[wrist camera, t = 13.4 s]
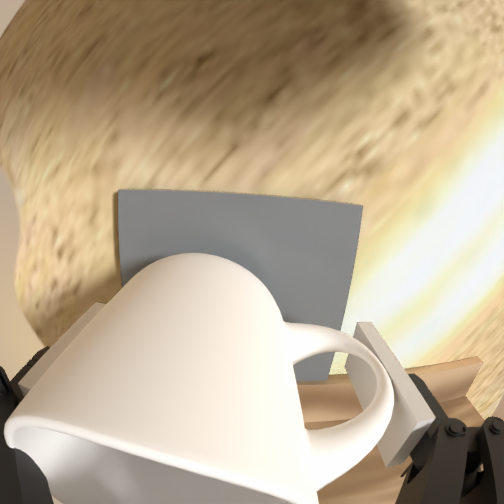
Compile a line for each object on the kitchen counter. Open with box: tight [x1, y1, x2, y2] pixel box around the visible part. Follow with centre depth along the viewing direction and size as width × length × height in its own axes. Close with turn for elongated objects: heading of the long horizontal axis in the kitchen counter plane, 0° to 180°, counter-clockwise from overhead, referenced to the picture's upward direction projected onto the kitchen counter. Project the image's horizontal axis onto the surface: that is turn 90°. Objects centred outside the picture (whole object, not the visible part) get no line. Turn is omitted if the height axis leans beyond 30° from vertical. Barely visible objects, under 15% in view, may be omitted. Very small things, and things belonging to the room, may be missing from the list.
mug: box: [4, 253, 394, 504], centre depth 9 cm, size 9×12×11 cm
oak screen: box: [296, 357, 484, 504], centre depth 12 cm, size 6×18×14 cm, turn 86°
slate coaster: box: [118, 189, 363, 381], centre depth 16 cm, size 13×13×1 cm
